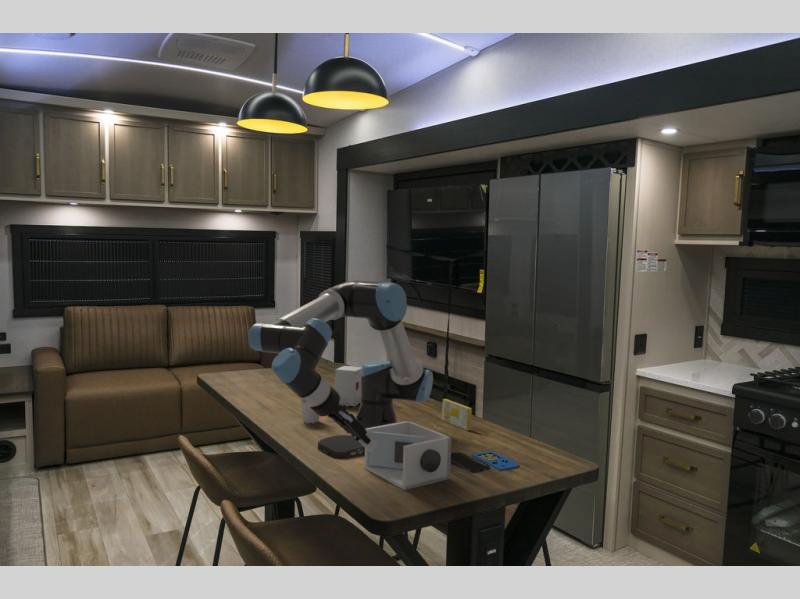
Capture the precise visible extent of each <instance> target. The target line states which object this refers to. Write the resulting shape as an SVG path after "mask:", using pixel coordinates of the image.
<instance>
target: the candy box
mask: <svg viewBox="0 0 800 599" xmlns="http://www.w3.org/2000/svg"><path fill="white" fill-rule="evenodd" d="M472 410H473V408H472V407H469V406H466V405H464V404H461V403H459V402H455V401H453V400H450V399H447V398H443V399H442V409H441V421H444V422H445V421H446V422H445V423H448V424H451V425H452V426H454V425H455V426H454V427H457V428H459V429H462V430H463V431H466V432H469V430H470V431H471V427H472V413H473V411H472Z"/></svg>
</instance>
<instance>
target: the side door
mask: <svg viewBox="0 0 800 599" xmlns="http://www.w3.org/2000/svg"><path fill="white" fill-rule="evenodd" d="M370 437H371V438H372V439H373V440H374V441H375V442H376V443H377V444H378V445H377V446H376V448H375V449H374V450H373V452H372V453H371V452H370V451H369V465H370V466H379V467H387V468H396V469H403V446H406V445H410V444H415V443H420V442H425V441H426V437H424V436H414V435H404V434H395V433H385V432H375V431H370Z"/></svg>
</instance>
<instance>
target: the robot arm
mask: <svg viewBox="0 0 800 599" xmlns="http://www.w3.org/2000/svg"><path fill="white" fill-rule="evenodd" d="M407 300H408V298H407V295H406V292H405V290H404V288H403V287H402V286H401V285H399V284H398V283H395V282H390V281H365V280H350V281H345V282H342V283H340V284H336V285H335V286H331V287H329V288H327V289H325V290H324V291H321V292H320V293H319V295H318V297H317V298H315V299H313V300H312V301H310V302H307V303H306V304H304V305H302V306H299V308H297V309H294V310H293V311H291V312H289V313H287V314H285V315H283V316H281V317H279V318H278V319H275V320H274V321H272V322H269V323H266V322H257V323H254V324H252V326H251V327H250V329H249V331H248V334H247V335H248V336H247V339H248V344H249V346H250V348H251V349H252V350H254V351H258V352H262V353H272V354H278V355H276V356H275V357H274V359H273V360H272V363H271V370H272V372H273V373H274V374H275V376H276V377H277V378H278V379H279V380H280V382H281V383H283V384H284V385H285V386H287V388H288V389H290V390H291V391H292V392H293V393H294V394H295V395H296V396H298V397H299V399H300V404H301V403H303V404H304V403H306V404H307V405H308V406H310V408H311V409H312V410H313V411H314V412H315V413H316V414H317V415H319V417H326V416H327V417H328V418H330V419H331V420H332V421H333V422H335V423H336V424H337V425H338V426H339V427H340V428H342V429H343V430H344V431H345V432H346V433H347V434H349V435H351V436H356V437H355V438H356V439H355V440H356V441H359V442H360V443H361V444H362V445H363V446H364V447H365V448H366V449H367V450H368V451H370V452H371V453H372V452H373V450H374V449H375V448H376V446H377V445H378V444H377V443H376V442H375V441H374V440H373V439H372V438H371V437H369V436H368V435H367V434H366V433H367V431H366V430H365V428H371V427H377V426H382V425H388V424H393V423H398V419H397V414H396V411H395V409H394V404H393V403H394V402H393V400H400V401H407V402H412V403H425V402H427V401H428V400H429V398H430V395H431V393H432V388H433V383H434V375H433V374H434V373H433V371H432V370H430V369H424V366H423V363H422V362H420V361H419V359H416V356H415V354H414V351H413V348H412V346H411V343H410V340H409V337H408V334H407V332H406V329H405V326H404V324H403V320H404V317H405V316H406V314H407V308H408V303H407ZM345 317H346V318H349V317H350V318H358V319H366V320H367V322H368V324H369V326H370V328H372V329H373V330H375V331H377V333H378V336H379V338H380V341H381V343H382V346H383V348H384V351H385V353H386V355H387V358H388V360H377V361H372V362H366V363H364V364H363V365H362V373H361V403H360V404H359V408H358V410H357V414H356V417H355V416H354V414H353V413H349V412H348V411H347V410H346V407H345V406H342V405H339V401H340V395H339V394H338V393H337V392H336V391H335V388H333V387H332V386H331V385H330V383H329V382H328V381H327V380H325V378H324V377H323V376H322V375H321V374H319V372H317V370H316V367H317V365H318V363H319V362H320V360H321V358H322V356H323V354H324V352H325V350H326V348H327V347H328V345H329V342H330V339H331V337H332V335H333V331H332V328H331V327H330V325H329V324H328V323H327V322H328V321H331V320H332V321H335V320H338V319H340V318H345ZM301 399H302V401H301Z"/></svg>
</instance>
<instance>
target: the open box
mask: <svg viewBox="0 0 800 599" xmlns="http://www.w3.org/2000/svg"><path fill="white" fill-rule="evenodd" d="M365 430H366V431H367V433H366V434H367V435H368V436H369V437H370V431H375V432H385V433H395V434H404V435H414V436H424V437H426V441H425V442H420V443H415V444H410V445H406V446H403V469H396V468H387V467H379V466H370V465H369V451H368V450H367V449H366V448H365V454H364V469H365V470H367V471H368V472H371V473H372V474H374V475H376V476H378V477H380V478H382V479H383V480H385V481H387V482H388V483H390V484H392V485H394V486H396V487H398V488H400V489H401V490H403V491H409V490H414V489H417V488H419V487H424V486H428V485H431V484H435V483H439V482H443V481H447V480H450V479H451V453H452V437H450V436H448V435H445V434H444V433H440V432H438V431H435V430H433V429H431V428H429V427H426V426H423V425H420V424H418V423H415V422H413V421H411V420H406V421H401V422H397V423H393V424H388V425H382V426H377V427H371V428H365Z"/></svg>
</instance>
